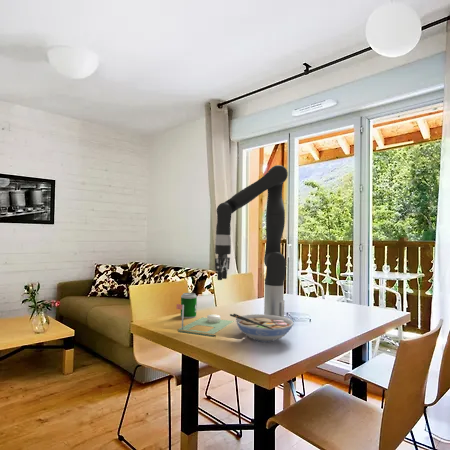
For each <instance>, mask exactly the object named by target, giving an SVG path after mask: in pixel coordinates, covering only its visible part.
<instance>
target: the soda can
mask: <svg viewBox="0 0 450 450" xmlns="http://www.w3.org/2000/svg"><path fill="white" fill-rule="evenodd" d="M197 297H198V296H197V295H196V293H194V292H183V293H182V294H181V296H180V304H181V305H184V319H194V318H197V308H198V307H197V305H198V304H197V303H198V301H197V300H198V299H197ZM180 318H182V310H181V309H180Z"/></svg>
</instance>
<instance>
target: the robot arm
mask: <svg viewBox="0 0 450 450" xmlns="http://www.w3.org/2000/svg"><path fill="white" fill-rule="evenodd" d="M287 179H288V170H287V168H286V167H284V166H283V165H281V164H280V165H279V164H277V165H274V166H272V167H271V168H270V169H269V170H268V171H267V172H266V173H265V174H264V175H263V176H261V178H259V179H257V180H256V181H255V182H252V184H250V185H248V186H246V187H245V188H242V189H241V190H240V191H238V192H236V193H235V194H234V195H232V196H231V197H230V198H229V199H227V200H226V201H224V202H222V203H220V204H219V205H217V208H216V210H215V212H216V214H217V215H216V228H215V229H216V230H215V231H216V232H215V244H214V246H215V247H214V249H215V250H214V254H216V255H217V257H216V258H214V269H215V271H216V273H217V279H216V280H217V281H222V280H226V279H228V271H229V270H230V263H231V262H230V261H231V260H230V259H231V257H229V256H228V255H231V252H232V248H231V247H232V237H231V234H232V232H231V230H232V228H231V222H232V221H231V220H232V214H233V213H235V212H236V211H237V210H239V209H241V208H243V207H245V206H246V205H247V204H249V203H250V202H252V201H253V200H255V199H256V198H257V197H259V196H260V195H261V194H262V193H264V192H266V191H267V198H266V211H265V212H266V213H265V214H266V215H265V237H266V238H265V239H266V240H265V241H266V242H265V251H264V258H263V262H264V266H265V267H266V272H265V273H266V275H265V278H264V299H263V301H264V303H263V306H264V307H263V310H264V311H263V315H274V316H280V317H285V300H284V296H285V293H284V291H285V289H284V288H285V287H284V286H285V279H286V265H287V262H286V257H285V255H284V254H282V251H281V250H282V248H281V242H282V237H283V235H284V230H285V223H286V221H285V220H286V212H285V211H286V209H285V204H284V200H283V187H284V183H285V182H286V181H287Z"/></svg>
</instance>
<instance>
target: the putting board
mask: <svg viewBox="0 0 450 450" xmlns="http://www.w3.org/2000/svg"><path fill="white" fill-rule="evenodd" d="M176 310H180V311H181V310H182V317H181V327H179V328H178V329H177V333H182V334H188V335H197V336H203V337H210V338H215V337H216V336H217V335H215V334H217V333H218V332H219V331H221V330H223V329H224V328H226V327H227V326H229V325H231V324H232V323H233V322H234V320H228V319H222V318H220V322H219V323H209V322H207V317H201V318H198V319H195V321H192V322H190V323H187V324H185V325H184V319H185V318H184V305H181V303H180V304H179V303H176ZM195 326H202V327H204V326H205V327H210V328H211V327H212V328H211V329H209V330H208V331H205V330H204V331H202V330H195V329H192V328H194V327H195Z"/></svg>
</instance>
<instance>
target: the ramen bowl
mask: <svg viewBox="0 0 450 450" xmlns="http://www.w3.org/2000/svg"><path fill="white" fill-rule="evenodd" d="M229 316H230V317H233V318H235V322H236V324H237V326H238V328H239V330H240V331H241V332H242V333H243V334H244V335H245V336H247V337H248V338H250V339H254V340H255V341H257V342H260V343H271V342H273V341H275V340H279V339H282V338H283V337H285V336H286V335H287V334H288V333H290V330H291V329H292V327H293V326H294V321H293V320H292V319H289V318H288V317H285V316H284V317H280V316H274V315H264V314H259V313H258V314H257V313H256V314H246V315H239V314H236V313H233V314H232V313H230V314H229Z"/></svg>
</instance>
